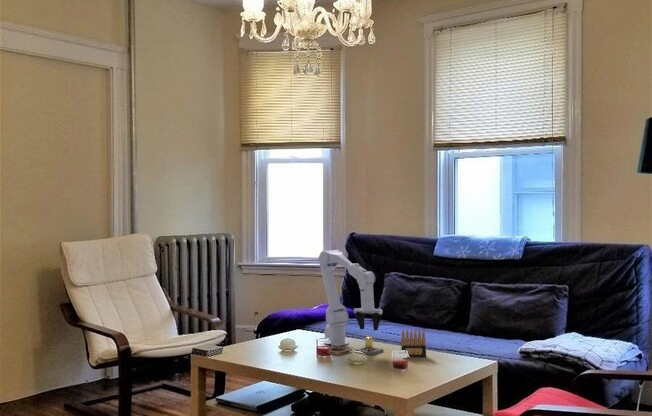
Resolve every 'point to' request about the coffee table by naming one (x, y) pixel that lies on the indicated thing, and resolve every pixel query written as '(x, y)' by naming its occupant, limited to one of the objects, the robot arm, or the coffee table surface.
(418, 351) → the ammunition clip
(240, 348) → the coffee table surface
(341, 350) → the rack block
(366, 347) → the brass peg
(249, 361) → the coffee table surface
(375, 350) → the socket block
